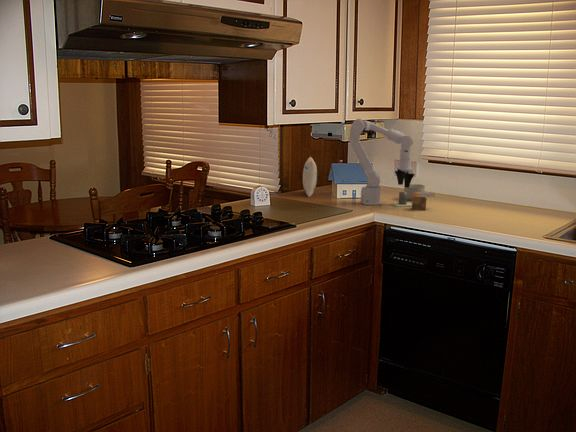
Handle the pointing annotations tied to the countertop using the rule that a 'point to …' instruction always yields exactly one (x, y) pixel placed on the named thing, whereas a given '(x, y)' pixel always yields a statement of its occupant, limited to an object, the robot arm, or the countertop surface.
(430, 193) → the steel bar
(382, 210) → the countertop surface
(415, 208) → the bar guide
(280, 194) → the countertop surface
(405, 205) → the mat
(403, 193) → the plug
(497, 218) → the countertop surface
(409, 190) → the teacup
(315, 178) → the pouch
